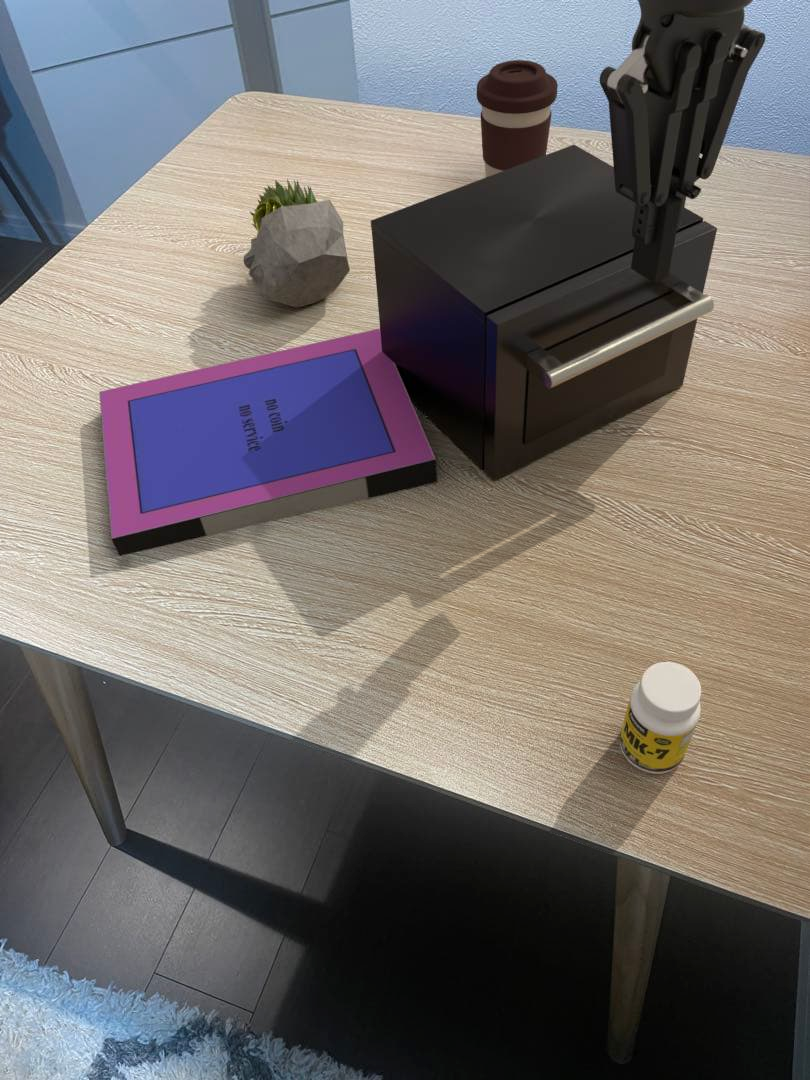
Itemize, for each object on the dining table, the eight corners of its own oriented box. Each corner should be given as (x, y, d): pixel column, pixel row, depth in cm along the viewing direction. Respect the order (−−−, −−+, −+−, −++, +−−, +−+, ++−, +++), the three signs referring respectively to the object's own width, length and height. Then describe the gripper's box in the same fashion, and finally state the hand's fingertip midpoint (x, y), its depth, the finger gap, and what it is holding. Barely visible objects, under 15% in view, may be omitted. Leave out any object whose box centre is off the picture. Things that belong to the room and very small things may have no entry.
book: (99, 391, 94) (379, 328, 98) (108, 413, 97) (382, 350, 100) (111, 538, 81) (435, 459, 84) (121, 560, 83) (437, 481, 87)
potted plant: (244, 311, 101) (194, 220, 107) (324, 334, 111) (274, 249, 117) (309, 228, 95) (252, 136, 101) (387, 260, 105) (331, 175, 111)
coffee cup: (535, 211, 118) (542, 92, 107) (464, 198, 121) (464, 81, 110) (560, 176, 124) (569, 59, 113) (492, 164, 127) (494, 50, 116)
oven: (670, 377, 95) (703, 218, 82) (482, 471, 87) (484, 312, 74) (560, 297, 105) (574, 144, 92) (383, 375, 98) (370, 220, 84)
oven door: (709, 405, 92) (750, 246, 78) (518, 505, 84) (527, 347, 71) (671, 377, 95) (704, 220, 82) (483, 472, 87) (485, 315, 74)
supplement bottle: (606, 750, 68) (620, 689, 61) (640, 707, 70) (657, 644, 63) (664, 788, 65) (685, 729, 59) (697, 742, 68) (720, 680, 61)
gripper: (736, -107, 60) (676, 227, 77) (581, -63, 55) (555, 279, 73) (830, -83, 55) (743, 265, 73) (669, -34, 51) (618, 323, 68)
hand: (649, 272), depth 73 cm, fingers closed
